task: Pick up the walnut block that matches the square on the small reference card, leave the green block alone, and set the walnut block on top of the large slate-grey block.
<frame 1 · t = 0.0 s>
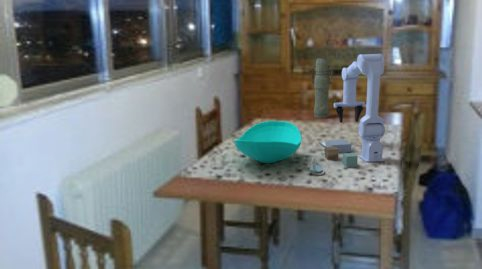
hand: (348, 121, 248), 10 cm above the table, tool pointing down, fingers open, 7 cm apart
green block: (349, 165, 214), on the table
walnut block: (331, 158, 225), on the table
slate base block: (338, 150, 238), on the table
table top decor: (268, 161, 223), on the table
reference card: (329, 144, 247), on the table
thermos: (321, 117, 310), on the table
pacifier: (316, 173, 205), on the table
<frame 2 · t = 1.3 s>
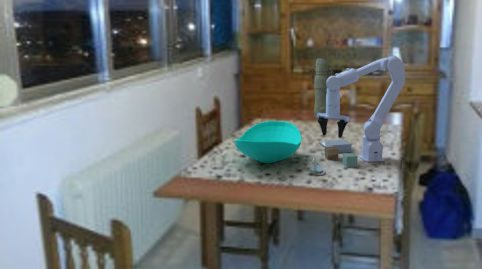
hand: (332, 136, 224), 9 cm above the table, tool pointing down, fingers open, 7 cm apart
nothing on the table moved.
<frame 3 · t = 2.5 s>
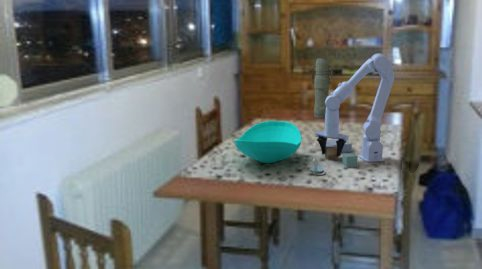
hand: (331, 154, 225), 1 cm above the table, tool pointing down, fingers closed on walnut block, 6 cm apart
walnut block: (331, 158, 225), on the table, touching gripper
everything else where it was.
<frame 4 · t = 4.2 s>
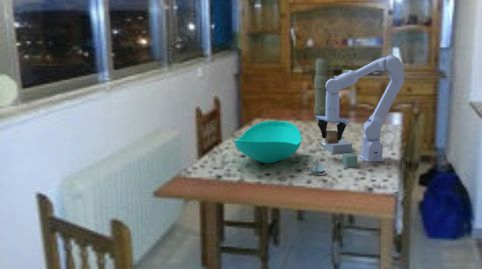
hand: (331, 138, 223), 8 cm above the table, tool pointing down, fingers closed on walnut block, 6 cm apart
walnut block: (331, 142, 224), point 7 cm above the table, touching gripper
everything else where it was.
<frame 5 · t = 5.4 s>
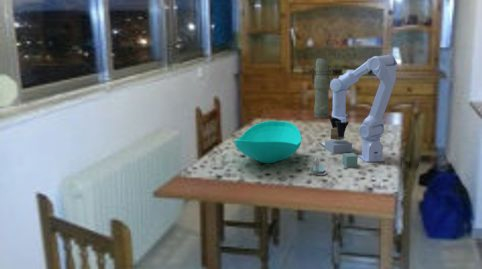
hand: (338, 135, 236), 7 cm above the table, tool pointing down, fingers closed on walnut block, 6 cm apart
walnut block: (337, 138, 236), point 5 cm above the table, touching gripper
when the fingers open (7 cm above the table, at t = 6.0 s): walnut block drops 2 cm, resting on slate base block.
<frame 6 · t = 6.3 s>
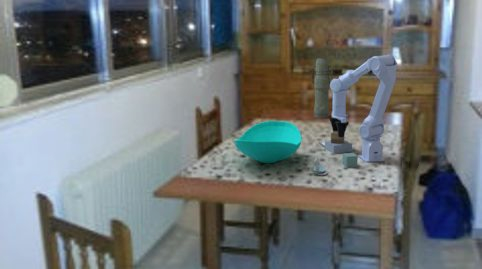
hand: (338, 135, 236), 7 cm above the table, tool pointing down, fingers open, 7 cm apart
walnut block: (337, 142, 237), point 4 cm above the table, touching slate base block
slate base block: (338, 150, 238), on the table, touching walnut block
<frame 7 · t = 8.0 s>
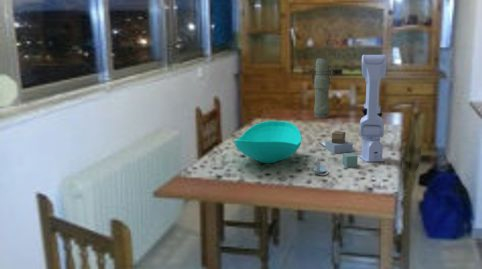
hand: (371, 126, 241), 9 cm above the table, tool pointing down, fingers open, 7 cm apart
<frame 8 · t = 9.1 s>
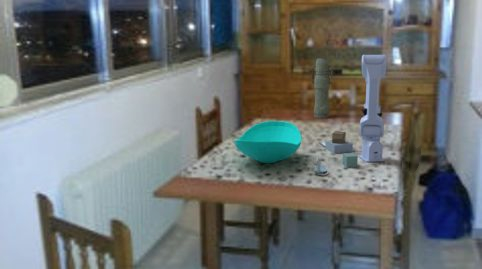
hand: (371, 126, 241), 9 cm above the table, tool pointing down, fingers open, 7 cm apart
at the end: walnut block 0.2 cm off-centre on the slate base block, point 4.0 cm above the slate base block's base; walnut block tilted 0°; green block moved 0.1 cm from its start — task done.
